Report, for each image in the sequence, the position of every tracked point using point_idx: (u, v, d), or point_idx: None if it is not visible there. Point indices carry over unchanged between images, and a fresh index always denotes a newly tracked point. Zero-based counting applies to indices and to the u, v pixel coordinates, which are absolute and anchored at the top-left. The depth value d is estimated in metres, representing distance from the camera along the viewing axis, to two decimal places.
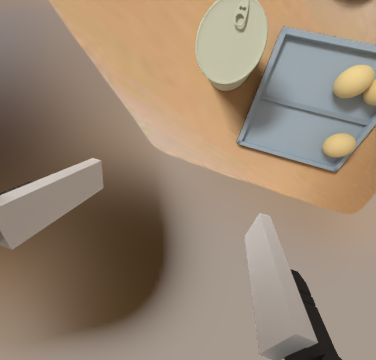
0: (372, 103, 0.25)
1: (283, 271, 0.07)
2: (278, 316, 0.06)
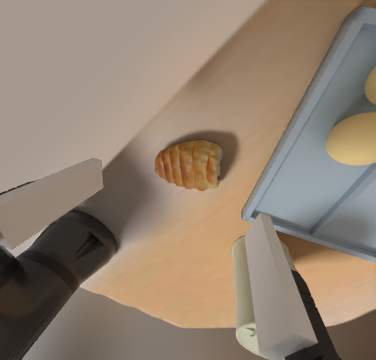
0: None
1: (283, 271, 0.07)
2: (278, 316, 0.06)
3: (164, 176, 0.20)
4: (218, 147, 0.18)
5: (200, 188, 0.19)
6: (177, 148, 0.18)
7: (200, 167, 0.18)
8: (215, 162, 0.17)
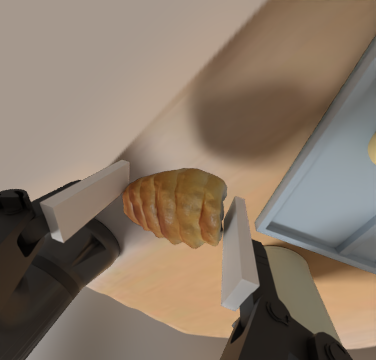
0: None
1: (244, 238, 0.08)
2: (235, 271, 0.07)
3: (136, 222, 0.13)
4: (220, 183, 0.10)
5: (191, 246, 0.12)
6: (152, 182, 0.11)
7: (189, 218, 0.10)
8: (215, 213, 0.10)
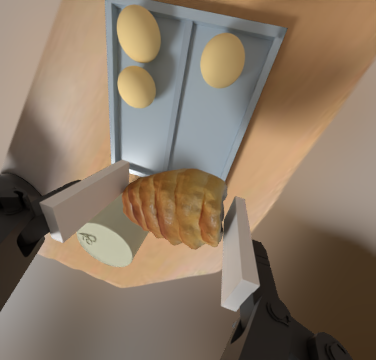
0: (155, 46, 0.16)
1: (244, 238, 0.08)
2: (235, 271, 0.07)
3: (135, 222, 0.13)
4: (220, 184, 0.10)
5: (191, 247, 0.12)
6: (151, 182, 0.11)
7: (189, 219, 0.10)
8: (215, 213, 0.09)
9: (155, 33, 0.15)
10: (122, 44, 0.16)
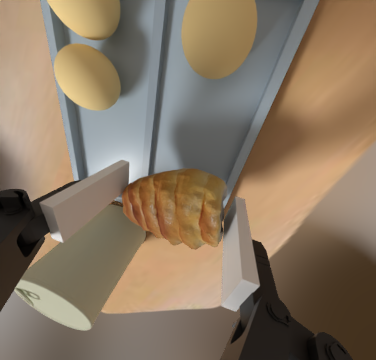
0: (107, 8, 0.10)
1: (244, 238, 0.08)
2: (235, 271, 0.07)
3: (135, 222, 0.13)
4: (220, 184, 0.10)
5: (191, 247, 0.12)
6: (151, 182, 0.11)
7: (189, 219, 0.10)
8: (215, 213, 0.09)
9: None
10: (50, 3, 0.09)
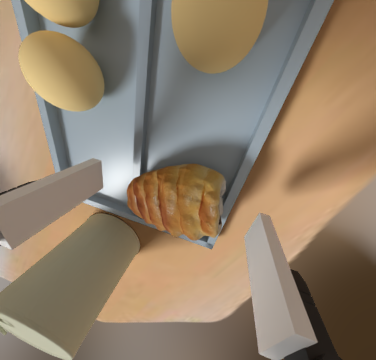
0: None
1: (283, 271, 0.07)
2: (278, 316, 0.06)
3: (139, 215, 0.14)
4: (219, 177, 0.11)
5: (191, 238, 0.12)
6: (155, 176, 0.12)
7: (189, 209, 0.11)
8: (214, 203, 0.10)
9: None
10: None
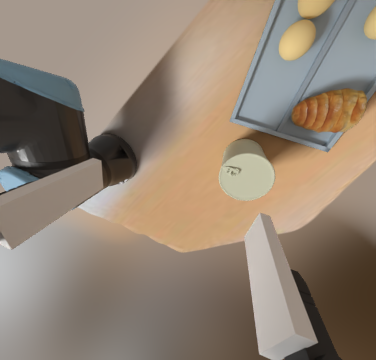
0: (333, 1, 0.20)
1: (283, 271, 0.07)
2: (278, 316, 0.06)
3: (303, 120, 0.26)
4: (363, 92, 0.23)
5: (339, 128, 0.24)
6: (325, 94, 0.24)
7: (348, 107, 0.23)
8: (364, 102, 0.22)
9: None
10: None
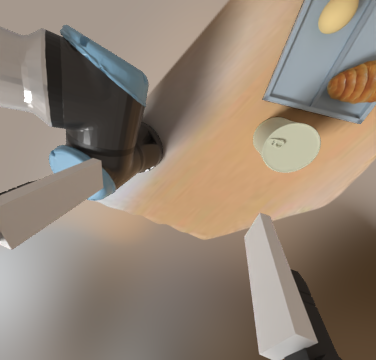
0: None
1: (283, 271, 0.07)
2: (278, 316, 0.06)
3: (341, 92, 0.27)
4: None
5: None
6: (364, 64, 0.25)
7: None
8: None
9: None
10: None
